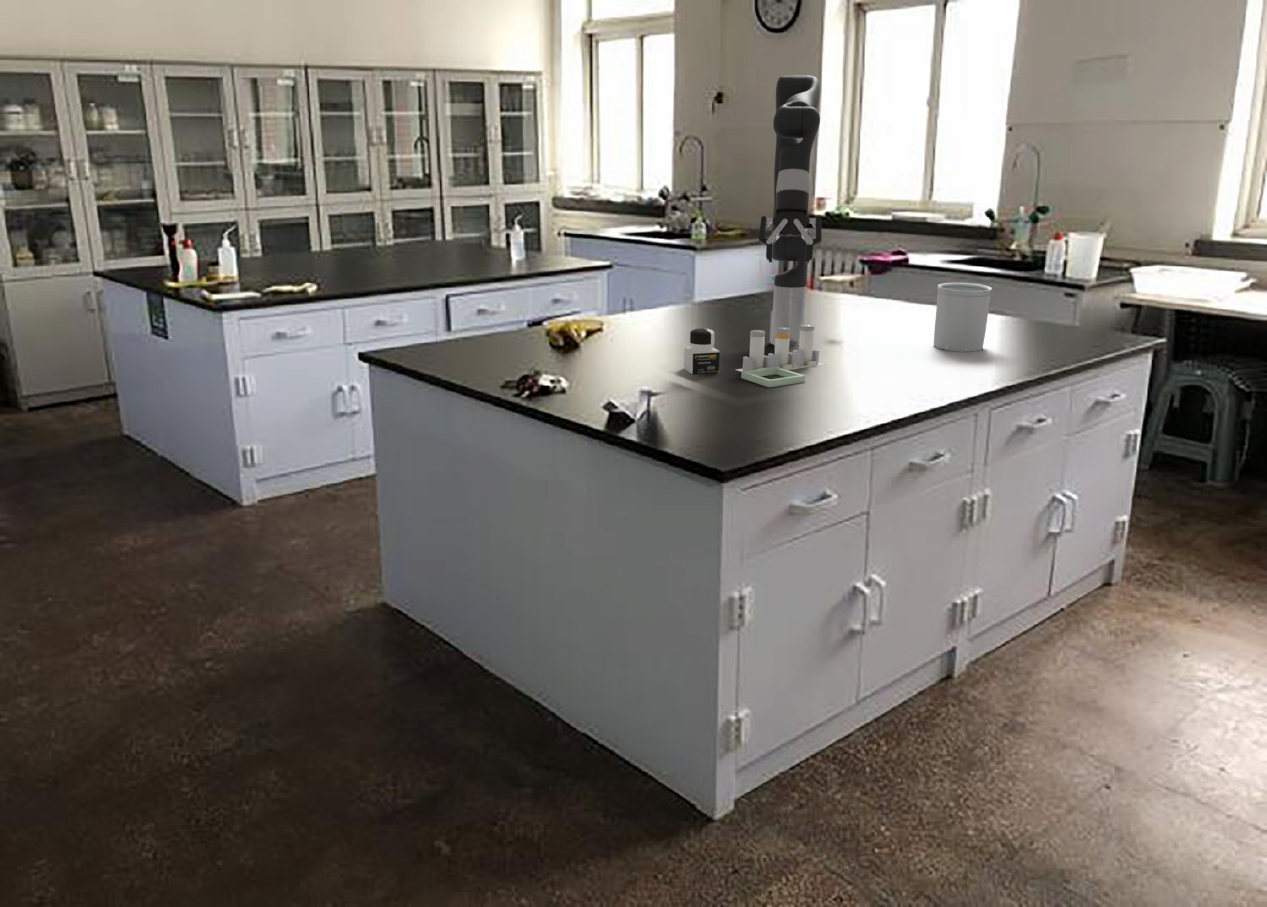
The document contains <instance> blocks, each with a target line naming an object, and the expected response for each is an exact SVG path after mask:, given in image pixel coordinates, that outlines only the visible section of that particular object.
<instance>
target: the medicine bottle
mask: <svg viewBox="0 0 1267 907" xmlns="http://www.w3.org/2000/svg"><path fill="white" fill-rule="evenodd" d="M714 346H715V332H714V330H712V329H710V328H701V327H700V328H694V329H692V330H691V331H690V333H689V345H688V346H685V347H684V351H683V357H684V358H683V359H684V360H683V366H684V367H683V369H684V370H685V371H687V372H688V373H690V374H691V375H703V374H704V375H705V374H706V375H707V374H708V375H709V374H719V373H720V354H721V353H720V350H719V349H716V348H715V347H714Z"/></svg>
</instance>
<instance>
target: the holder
mask: <svg viewBox="0 0 1267 907" xmlns="http://www.w3.org/2000/svg"><path fill="white" fill-rule="evenodd" d="M767 354H768V355H765V354H764V366H763V367H764V368H760V369H765V368H772V367H779V359H780V356H779V355H775V353H771V352H770V353H767ZM819 358H820V350H819V349H814V348H813V359H812V360H813V361H810V362H807V365H803V364H804V352H801V351H799V350H797V349H794V350H792V352H791V351H789V360H788V365H783V369H785V370H789V371H791V370H792V371H793V370H798V369H805V368H811V367H813V368H814V367H819V366H826V365H827V364H825V363H821V362H819ZM751 370H754V359H752V358H750V356H749V357H748V356H743V357H742V368H738V369H736V368H735V371H738V372H744V371H751Z"/></svg>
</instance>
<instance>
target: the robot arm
mask: <svg viewBox="0 0 1267 907" xmlns="http://www.w3.org/2000/svg"><path fill="white" fill-rule="evenodd" d="M820 90H821V89H820V82H819V80H818V78H817V77H816V76H813V75H808V74H807V75H806V74H805V75H802V74H801V75H799V74H797V75H791V74H790V75H780V77H778V80H777V82H776V87H775V114H774V117H773V121H772V122H773V124H772V126H773V131H774V132H775V135H776V137H775V138H776V140H775V141H776V142H775V152H774V153H775V155H774V168H773V170H774V172H773V197H774V198H773V202H774V203H773V214H772V216H773V217H766V216H765V215H763V216H761V217H760V218H761V219H760V226H759V233H758V241H759V244H761V245H764V246H766V247H765V258H766V260H767V261H768V263H769V264H770V263H773V260H774V261H779V262H796V264H795V265H794V266H793V267H792V268H790V269H788V270H786V271H782V272H779V273H777V274H775V276H774V278H773V279H774V280H773V281H774V283H773V284H774V286H773V303H772V304H773V305H772V306H773V307H772V309H771V311H770V324H769V325H770V326H769V327H770V328H769V343H770V344H771V345H772V344H773V345H772V346H774V347H775V330H776V328H777V327H787V328H790V340H789V347H792V346H793V347H794V346H799V340H800V325H803V324H806V307H807V306H806V305H807V304H806V303H807V286H808V266H809V263H810V261H812V260H813V257H814V247H815V246H817V245H821V244H822V218H821V216H820V215H819V216H816V217H809V204H810V203H809V201H810V188H811V187H810V184H811V183H810V168H811V167H810V165H811V155H812V154H811V153H812V148H813V144H814V141H815V139H816V136H817V134H818V131H819V129H820V124H821V116H820V113H819V111H818V110H817V108H818V106H819V103H820ZM799 139H802V140H801V141H799ZM771 224H772V225H771ZM810 224H811V225H812V227H813V228H815V238H811V234H810V231H809V229H807V227H808V226H810ZM770 225H771V234H770V236H769V237H768V238H767V237H766V234H767V228H769V227H770Z"/></svg>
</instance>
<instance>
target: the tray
mask: <svg viewBox="0 0 1267 907" xmlns="http://www.w3.org/2000/svg"><path fill="white" fill-rule="evenodd" d="M740 375H741V376H740V378H741V379H743V380H746V381H749V382H752V383H755V384H758V385H761V386H763V387H766V388H773V387H780V386H786V385H792V384H793V385H795V384H800V383H805V382H806V375H805V374H801V373H797V372H795V371H793V370H792V371H791V370H785V369H782V368H779V367H772V368H765V369H758V370H751V371H744V372H741V374H740ZM773 375H777V376H780V378H779V377H778V378H773V379H769V378H766V377H765V376H773Z"/></svg>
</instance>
